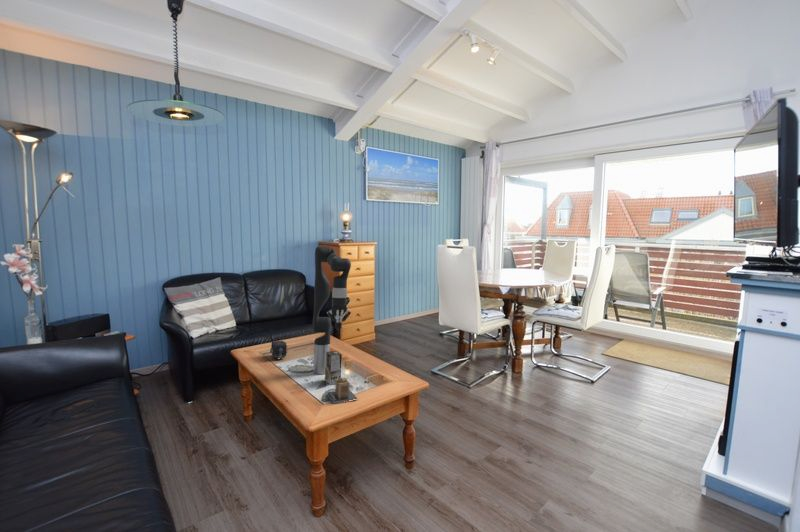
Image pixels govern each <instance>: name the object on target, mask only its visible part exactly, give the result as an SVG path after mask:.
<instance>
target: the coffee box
mask: <svg viewBox="0 0 800 532" xmlns="http://www.w3.org/2000/svg"><path fill="white" fill-rule="evenodd" d="M342 355H343V354H342V353H340V352H339V351H337V350H330V352H326V363H325V374H324V380H325V382H326V383H328V384H329V385H330V386H331V385H335V383H336V379H339V378H341V376H342Z"/></svg>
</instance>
